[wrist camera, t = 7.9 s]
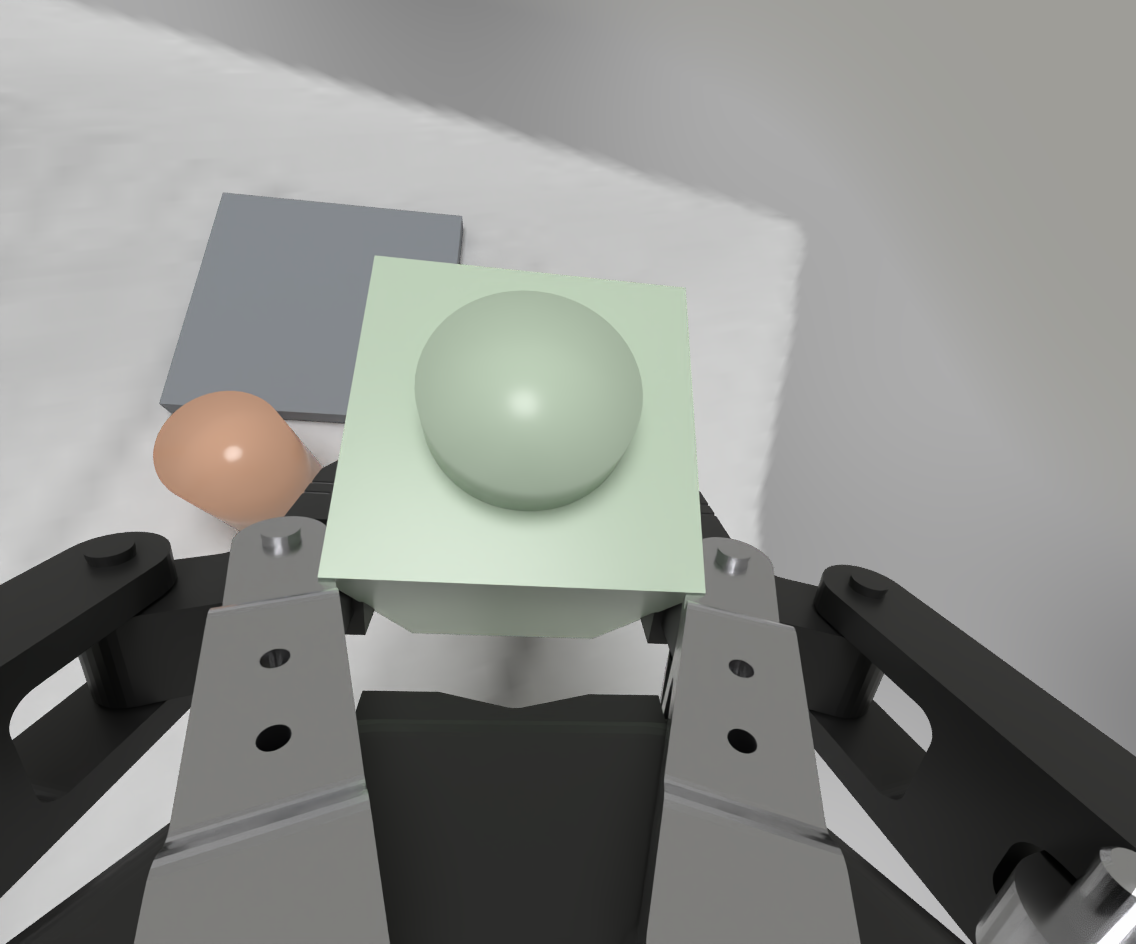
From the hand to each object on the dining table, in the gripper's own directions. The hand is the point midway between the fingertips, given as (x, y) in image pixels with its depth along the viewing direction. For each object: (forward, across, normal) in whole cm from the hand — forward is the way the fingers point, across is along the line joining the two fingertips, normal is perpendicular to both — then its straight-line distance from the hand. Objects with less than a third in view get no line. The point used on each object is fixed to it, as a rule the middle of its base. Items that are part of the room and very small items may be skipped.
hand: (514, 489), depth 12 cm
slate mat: (+23, +11, +1) cm, 25 cm away
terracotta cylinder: (+15, +12, +8) cm, 21 cm away
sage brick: (+3, 0, +3) cm, 4 cm away
